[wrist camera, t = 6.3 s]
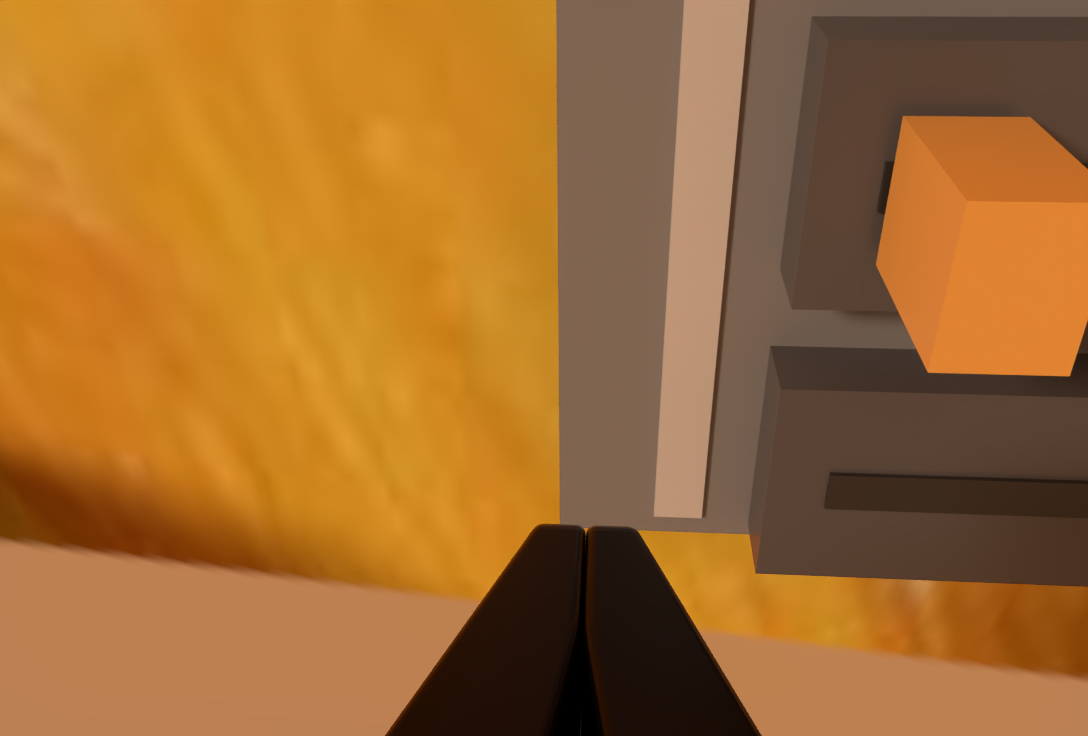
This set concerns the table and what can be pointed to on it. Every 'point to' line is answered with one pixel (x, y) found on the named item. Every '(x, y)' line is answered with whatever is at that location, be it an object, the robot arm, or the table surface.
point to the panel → (631, 247)
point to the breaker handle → (987, 245)
